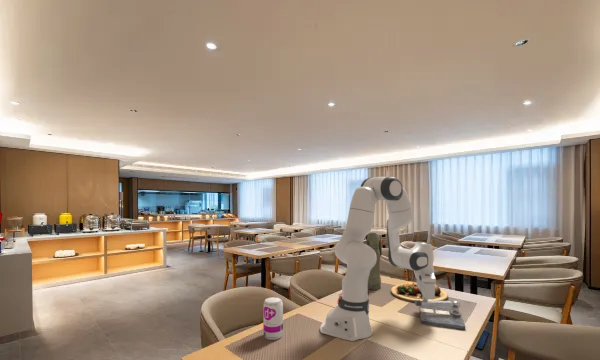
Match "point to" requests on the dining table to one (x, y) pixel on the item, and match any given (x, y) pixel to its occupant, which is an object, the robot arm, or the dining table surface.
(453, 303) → the swing bar
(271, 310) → the supplement can
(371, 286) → the dark olive tall piece
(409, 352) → the dining table surface
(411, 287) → the wooden plate with food
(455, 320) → the board
